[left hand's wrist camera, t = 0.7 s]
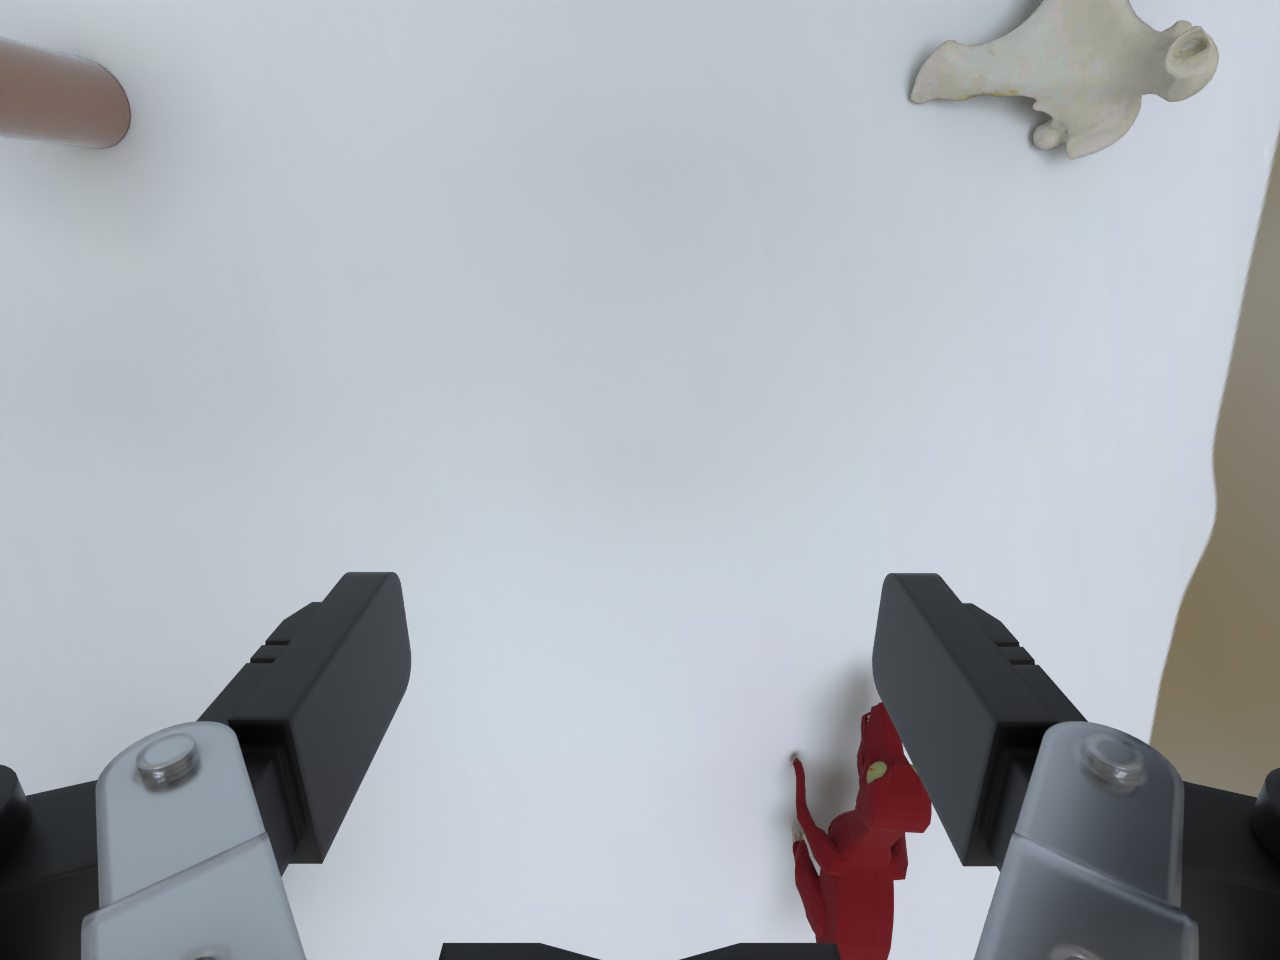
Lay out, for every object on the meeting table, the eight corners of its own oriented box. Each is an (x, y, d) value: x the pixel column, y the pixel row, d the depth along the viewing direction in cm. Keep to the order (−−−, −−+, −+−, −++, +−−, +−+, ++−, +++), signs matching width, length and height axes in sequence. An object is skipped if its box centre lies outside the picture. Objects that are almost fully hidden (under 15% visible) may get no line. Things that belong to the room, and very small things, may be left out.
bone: (1106, -170, 26) (1222, 59, 26) (1139, -108, 31) (1238, 89, 30) (874, 38, 34) (958, 221, 33) (928, 63, 38) (1003, 225, 38)
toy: (867, 701, 55) (963, 708, 40) (871, 1079, 48) (990, 1252, 33) (776, 693, 54) (841, 698, 40) (767, 1073, 47) (841, 1244, 33)
